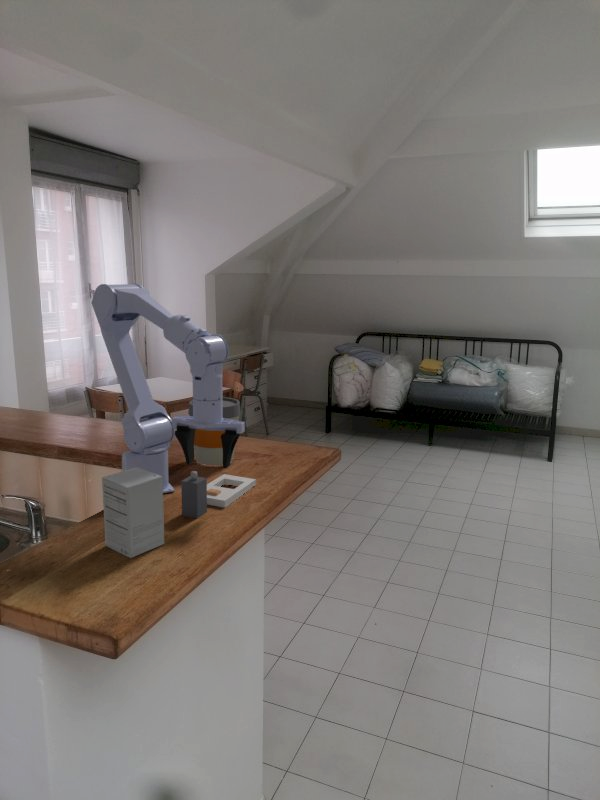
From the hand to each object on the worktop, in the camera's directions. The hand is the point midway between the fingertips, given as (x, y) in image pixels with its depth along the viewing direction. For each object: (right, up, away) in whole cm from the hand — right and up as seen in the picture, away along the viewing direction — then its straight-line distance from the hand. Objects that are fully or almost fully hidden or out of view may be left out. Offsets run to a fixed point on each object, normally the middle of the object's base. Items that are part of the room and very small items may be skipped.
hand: (208, 464), depth 124 cm
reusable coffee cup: (-3, -2, +30) cm, 30 cm away
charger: (-2, -9, -2) cm, 10 cm away
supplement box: (-10, -12, -16) cm, 23 cm away
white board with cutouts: (+2, -7, +9) cm, 12 cm away
